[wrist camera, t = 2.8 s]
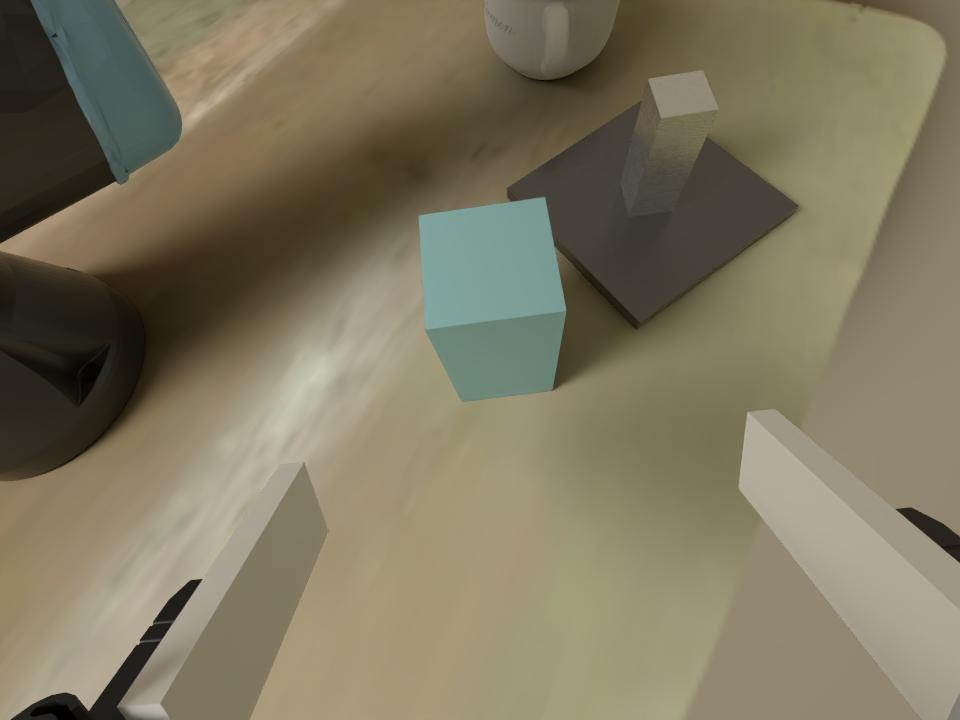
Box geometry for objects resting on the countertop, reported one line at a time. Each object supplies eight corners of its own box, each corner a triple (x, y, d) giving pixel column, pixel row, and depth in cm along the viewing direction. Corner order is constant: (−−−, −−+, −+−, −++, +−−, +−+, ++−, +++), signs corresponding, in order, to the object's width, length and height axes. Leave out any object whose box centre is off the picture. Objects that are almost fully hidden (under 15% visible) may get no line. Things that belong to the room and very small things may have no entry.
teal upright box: (461, 401, 29) (424, 329, 18) (454, 320, 31) (418, 215, 20) (552, 390, 28) (566, 310, 18) (539, 309, 30) (545, 196, 20)
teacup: (501, 11, 42) (496, -101, 34) (620, 16, 40) (641, -102, 33) (468, 122, 37) (453, 20, 30) (600, 133, 35) (620, 27, 28)
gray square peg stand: (507, 197, 34) (501, 88, 26) (647, 106, 36) (683, -24, 28) (636, 329, 29) (680, 247, 21) (790, 215, 31) (887, 99, 23)
